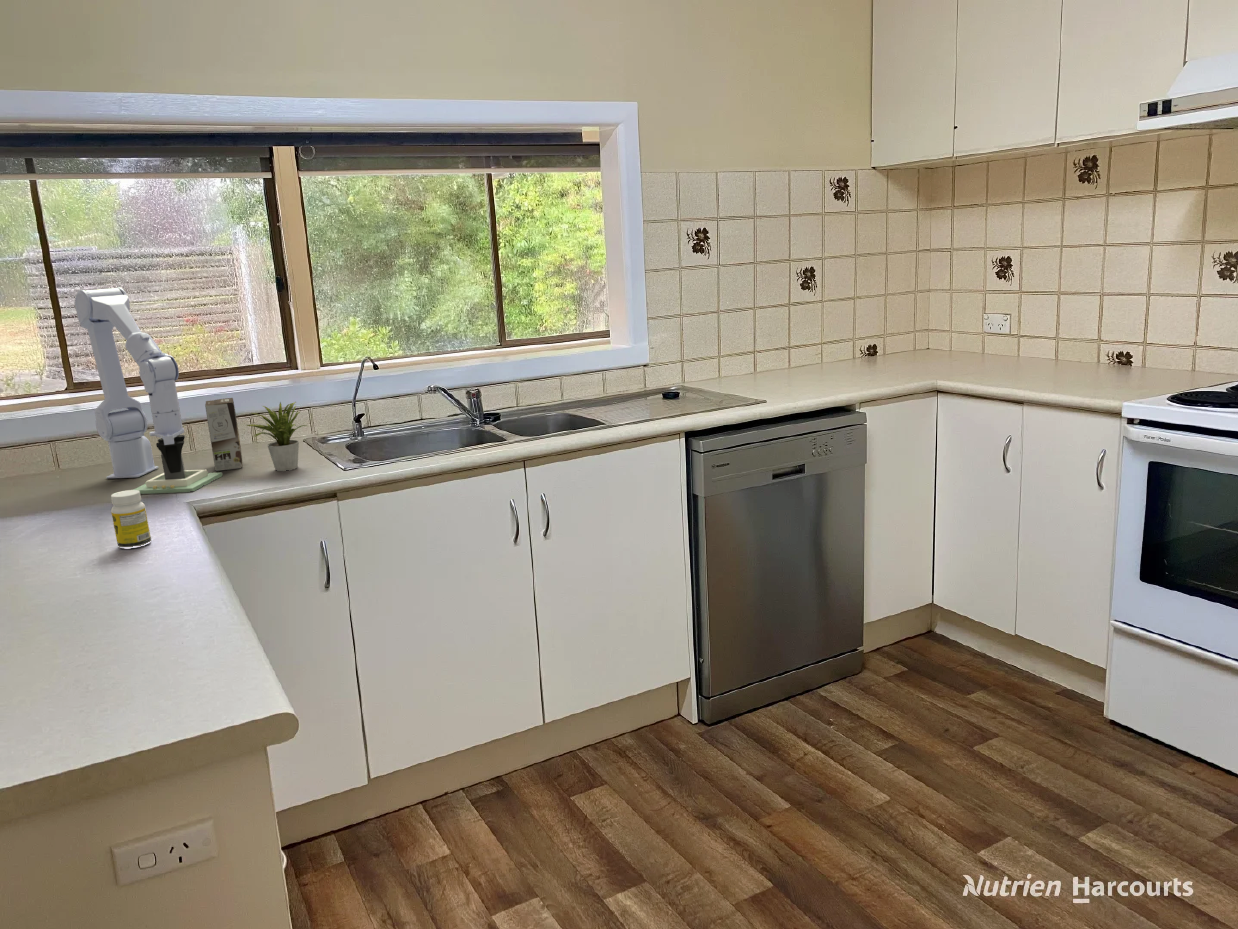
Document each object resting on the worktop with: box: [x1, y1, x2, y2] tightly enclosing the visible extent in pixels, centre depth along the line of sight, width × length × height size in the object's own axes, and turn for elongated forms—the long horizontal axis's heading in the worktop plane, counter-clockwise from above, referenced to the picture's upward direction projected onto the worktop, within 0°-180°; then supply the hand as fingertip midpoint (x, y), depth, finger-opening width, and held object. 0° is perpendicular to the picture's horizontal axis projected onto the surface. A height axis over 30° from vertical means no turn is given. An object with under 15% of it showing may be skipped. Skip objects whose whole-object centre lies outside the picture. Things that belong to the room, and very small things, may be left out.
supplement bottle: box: [110, 489, 152, 548], centre depth 169 cm, size 6×6×10 cm
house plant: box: [246, 401, 308, 472], centre depth 223 cm, size 14×14×16 cm
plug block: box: [160, 452, 186, 480], centre depth 213 cm, size 4×4×6 cm
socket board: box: [133, 468, 223, 495], centre depth 214 cm, size 14×14×2 cm
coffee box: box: [204, 397, 243, 472], centre depth 228 cm, size 9×6×16 cm
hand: (175, 470), depth 213 cm, fingers closed on plug block, 4 cm apart
